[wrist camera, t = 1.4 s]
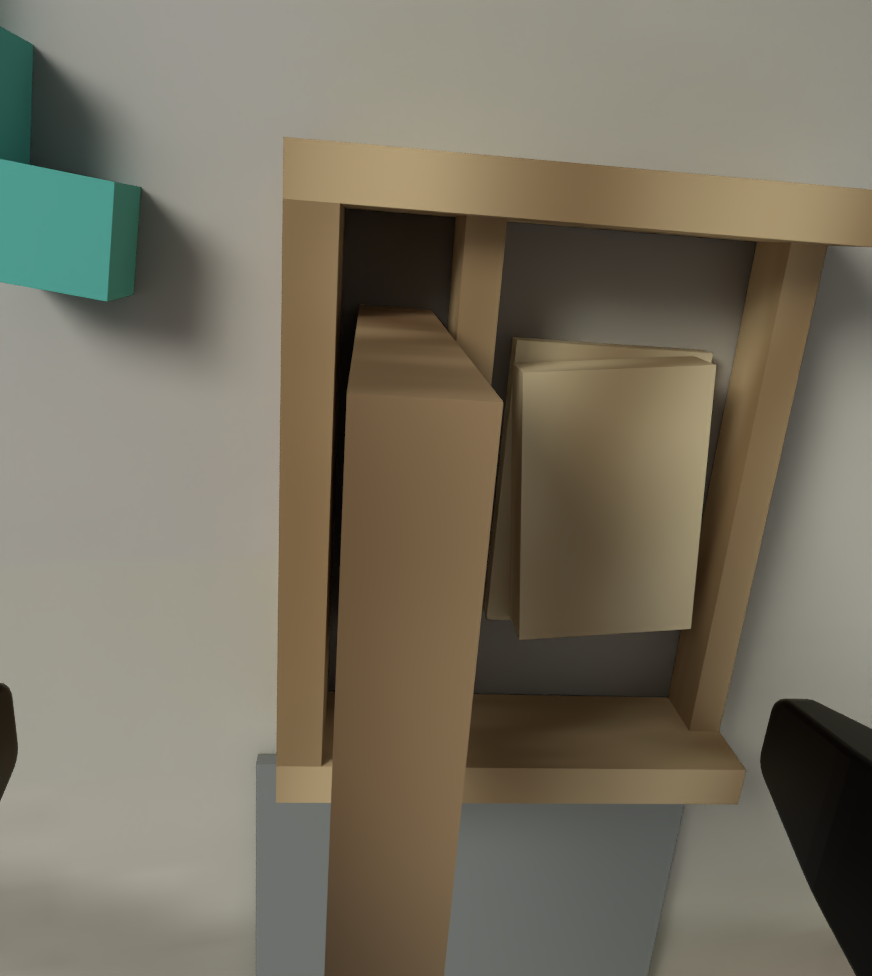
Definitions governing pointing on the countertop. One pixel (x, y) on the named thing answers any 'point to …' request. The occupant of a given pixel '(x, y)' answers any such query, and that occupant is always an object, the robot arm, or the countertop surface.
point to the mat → (487, 886)
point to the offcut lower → (501, 528)
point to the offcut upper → (607, 494)
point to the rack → (473, 324)
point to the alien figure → (57, 205)
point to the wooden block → (406, 638)
